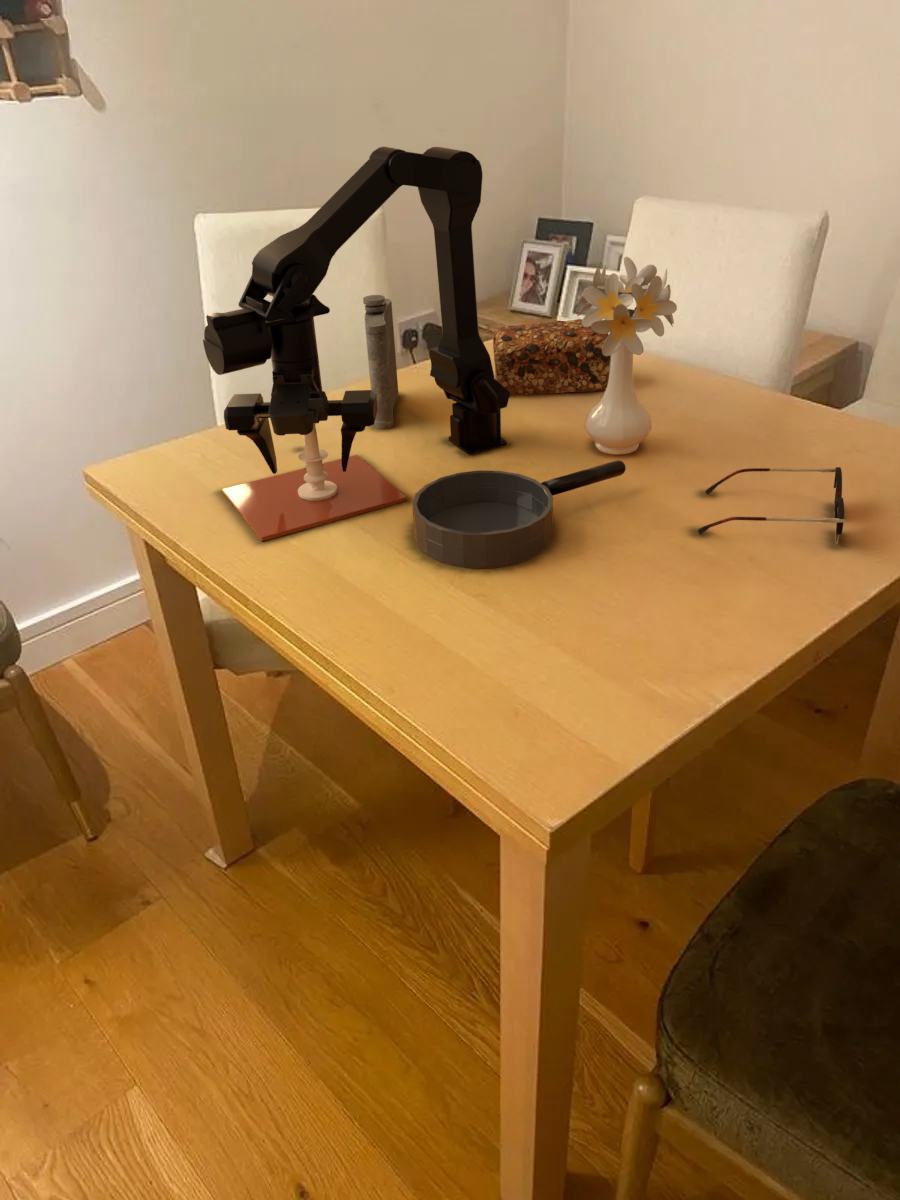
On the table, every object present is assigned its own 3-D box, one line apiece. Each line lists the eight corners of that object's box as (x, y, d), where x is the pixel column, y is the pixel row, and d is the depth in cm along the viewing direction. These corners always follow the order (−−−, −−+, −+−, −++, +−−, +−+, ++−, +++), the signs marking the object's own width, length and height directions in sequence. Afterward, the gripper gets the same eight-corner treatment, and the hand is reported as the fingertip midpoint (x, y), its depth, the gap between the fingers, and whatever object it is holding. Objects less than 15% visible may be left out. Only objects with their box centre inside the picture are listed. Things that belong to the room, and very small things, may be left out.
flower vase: (580, 477, 131) (587, 290, 117) (568, 424, 146) (573, 253, 133) (678, 474, 130) (695, 285, 117) (655, 421, 146) (669, 249, 132)
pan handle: (619, 470, 126) (619, 456, 125) (628, 476, 125) (629, 461, 124) (534, 495, 121) (534, 481, 120) (543, 501, 120) (543, 486, 119)
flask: (369, 429, 148) (357, 311, 138) (377, 395, 160) (367, 284, 150) (393, 428, 148) (383, 310, 138) (399, 394, 160) (391, 283, 150)
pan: (506, 490, 128) (505, 459, 126) (579, 543, 116) (580, 509, 113) (392, 523, 122) (389, 491, 120) (456, 583, 109) (455, 548, 107)
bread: (603, 371, 165) (606, 312, 159) (610, 394, 156) (613, 332, 151) (493, 374, 166) (492, 316, 160) (494, 397, 157) (493, 336, 151)
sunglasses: (840, 554, 111) (845, 515, 109) (696, 546, 116) (697, 509, 113) (837, 500, 122) (841, 464, 120) (705, 495, 127) (707, 460, 124)
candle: (335, 500, 127) (326, 426, 121) (295, 501, 127) (284, 427, 121) (339, 483, 131) (331, 410, 126) (301, 484, 131) (291, 411, 126)
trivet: (357, 458, 139) (356, 454, 139) (407, 501, 127) (406, 496, 127) (222, 493, 131) (221, 489, 131) (261, 541, 119) (261, 537, 119)
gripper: (203, 380, 112) (226, 501, 121) (363, 375, 112) (375, 497, 120) (224, 349, 122) (244, 463, 130) (372, 344, 121) (382, 459, 129)
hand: (309, 471), depth 127 cm, fingers open, 9 cm apart
